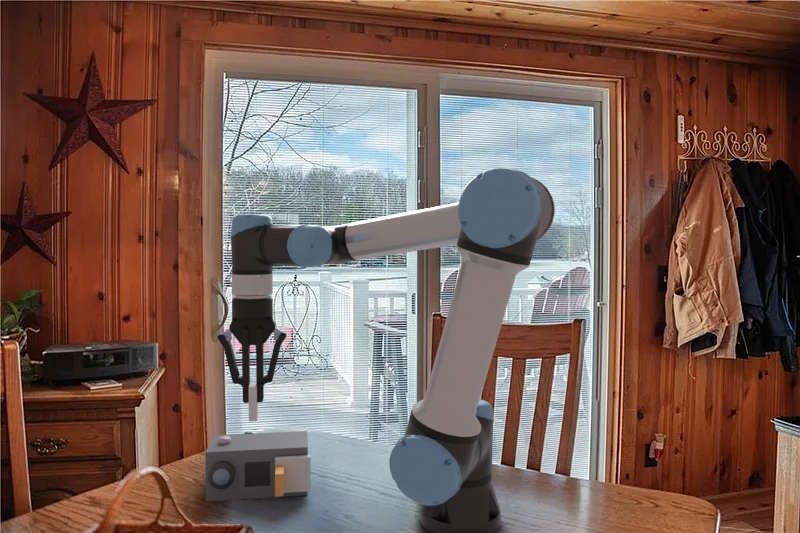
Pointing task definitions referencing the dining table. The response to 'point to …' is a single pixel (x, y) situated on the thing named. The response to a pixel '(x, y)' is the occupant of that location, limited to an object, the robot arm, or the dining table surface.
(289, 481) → the door
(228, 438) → the housing
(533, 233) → the robot arm
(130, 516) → the dining table surface
